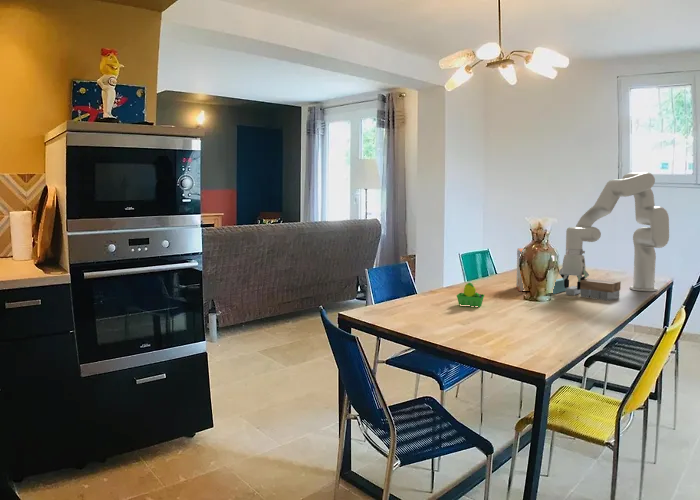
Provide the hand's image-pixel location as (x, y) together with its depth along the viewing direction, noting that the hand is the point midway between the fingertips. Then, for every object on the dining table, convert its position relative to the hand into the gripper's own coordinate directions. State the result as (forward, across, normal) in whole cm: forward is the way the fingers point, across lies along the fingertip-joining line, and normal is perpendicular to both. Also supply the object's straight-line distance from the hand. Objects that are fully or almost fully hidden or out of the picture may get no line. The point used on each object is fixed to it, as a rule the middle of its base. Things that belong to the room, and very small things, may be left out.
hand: (572, 288), depth 269 cm
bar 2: (+3, -8, 0) cm, 8 cm away
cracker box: (+3, +24, +6) cm, 24 cm away
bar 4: (+3, -18, 0) cm, 18 cm away
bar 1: (+3, 0, 0) cm, 3 cm away
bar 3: (+3, -13, 0) cm, 13 cm away
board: (-1, -13, 0) cm, 13 cm away
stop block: (+3, +8, 0) cm, 8 cm away
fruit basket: (+3, +20, +58) cm, 61 cm away
